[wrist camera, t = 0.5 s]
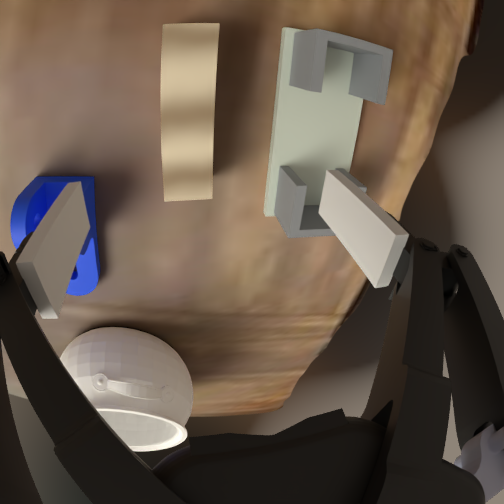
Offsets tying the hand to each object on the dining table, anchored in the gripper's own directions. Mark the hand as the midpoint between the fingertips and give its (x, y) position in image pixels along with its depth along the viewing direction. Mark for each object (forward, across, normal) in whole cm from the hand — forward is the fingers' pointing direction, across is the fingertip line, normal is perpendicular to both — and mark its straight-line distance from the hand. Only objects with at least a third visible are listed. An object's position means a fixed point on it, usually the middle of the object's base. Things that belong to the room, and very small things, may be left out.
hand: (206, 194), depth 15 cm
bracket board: (+20, +15, 0) cm, 25 cm away
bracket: (+20, -18, -14) cm, 30 cm away
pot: (+20, -16, -43) cm, 50 cm away
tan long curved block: (+20, -1, +2) cm, 20 cm away
